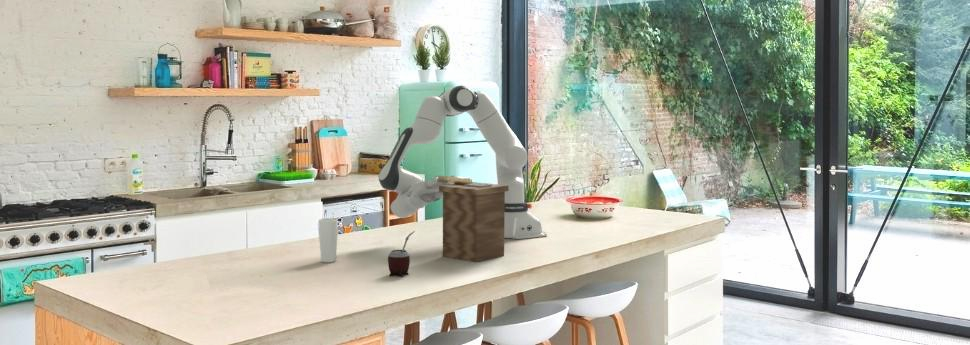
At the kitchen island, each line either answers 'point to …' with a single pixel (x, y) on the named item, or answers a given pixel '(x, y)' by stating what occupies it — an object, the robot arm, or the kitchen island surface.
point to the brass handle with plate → (460, 181)
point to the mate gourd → (399, 261)
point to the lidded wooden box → (473, 221)
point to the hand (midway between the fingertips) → (445, 178)
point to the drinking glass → (328, 239)
